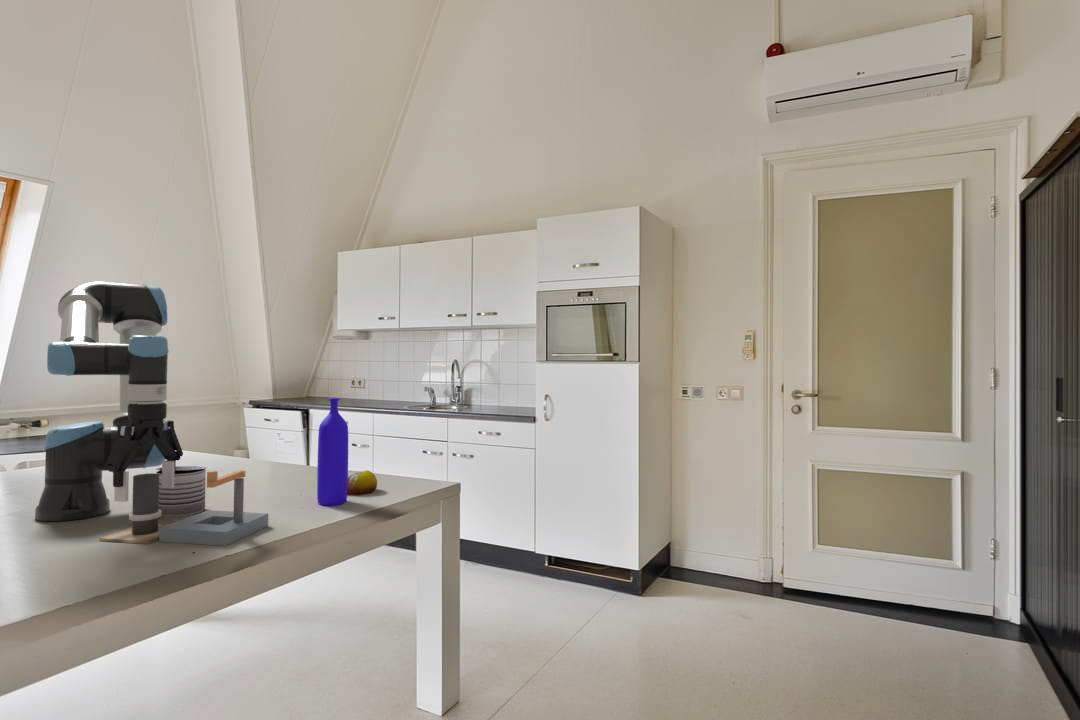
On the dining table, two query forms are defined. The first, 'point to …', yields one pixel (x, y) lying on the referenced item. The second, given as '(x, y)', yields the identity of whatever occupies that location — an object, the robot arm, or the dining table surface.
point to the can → (183, 492)
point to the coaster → (132, 536)
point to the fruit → (361, 483)
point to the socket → (216, 524)
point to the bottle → (332, 458)
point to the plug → (145, 504)
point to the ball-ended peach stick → (222, 478)
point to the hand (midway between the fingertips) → (145, 494)
